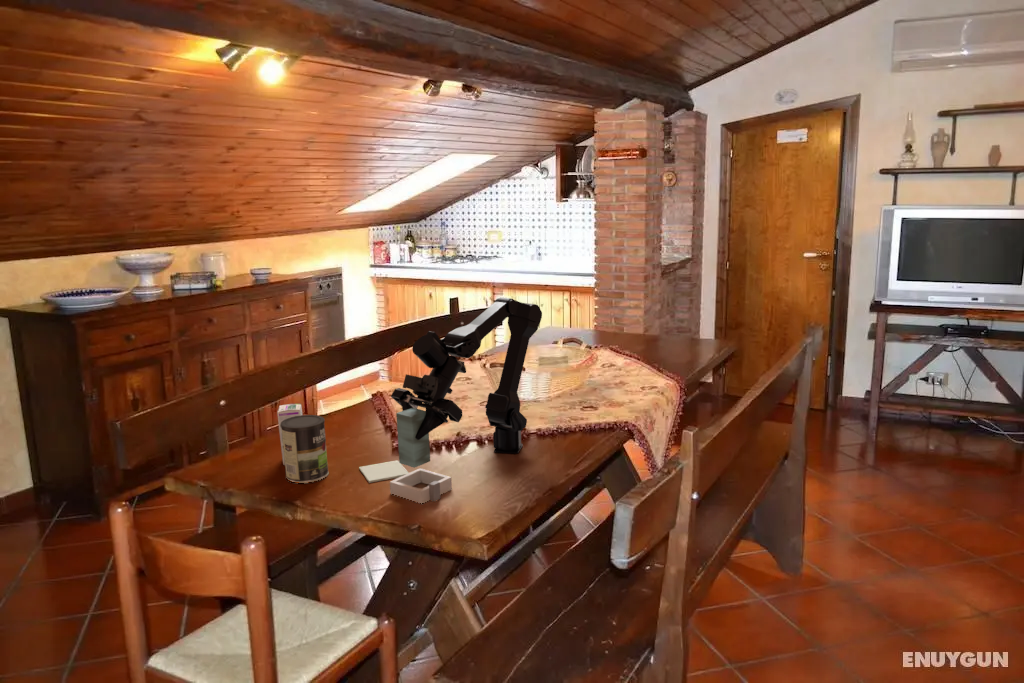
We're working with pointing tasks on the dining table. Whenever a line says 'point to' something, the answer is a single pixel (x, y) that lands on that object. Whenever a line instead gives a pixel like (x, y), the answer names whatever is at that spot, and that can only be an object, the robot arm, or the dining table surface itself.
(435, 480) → the collar
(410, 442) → the post
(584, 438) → the dining table surface
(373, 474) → the mat
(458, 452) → the dining table surface
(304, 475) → the coffee can
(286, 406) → the syrup box
